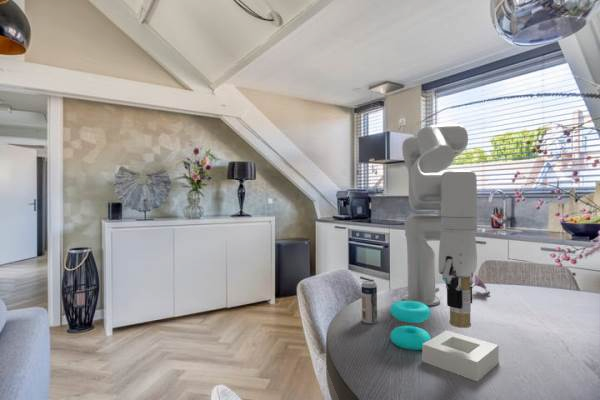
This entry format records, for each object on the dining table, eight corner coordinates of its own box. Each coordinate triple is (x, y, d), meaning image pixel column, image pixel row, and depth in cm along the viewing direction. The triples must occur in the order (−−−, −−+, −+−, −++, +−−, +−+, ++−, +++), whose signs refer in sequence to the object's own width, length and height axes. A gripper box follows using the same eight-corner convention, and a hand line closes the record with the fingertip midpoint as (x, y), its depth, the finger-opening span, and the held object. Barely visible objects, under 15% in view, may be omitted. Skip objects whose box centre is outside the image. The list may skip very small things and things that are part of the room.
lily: (482, 302, 126) (495, 280, 125) (453, 284, 134) (465, 263, 134) (490, 305, 135) (503, 284, 134) (462, 288, 143) (474, 268, 142)
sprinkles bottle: (446, 321, 80) (445, 264, 80) (465, 321, 80) (464, 264, 80) (454, 329, 76) (453, 268, 76) (475, 329, 76) (474, 268, 76)
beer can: (377, 325, 102) (377, 284, 102) (361, 324, 103) (360, 284, 103) (377, 319, 106) (376, 280, 106) (361, 318, 107) (361, 280, 107)
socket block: (446, 346, 87) (446, 330, 87) (498, 362, 78) (498, 345, 78) (422, 361, 79) (422, 344, 79) (477, 381, 70) (477, 362, 70)
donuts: (438, 305, 87) (414, 313, 82) (439, 345, 87) (415, 355, 82) (406, 297, 96) (382, 303, 90) (406, 332, 96) (382, 342, 90)
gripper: (458, 222, 86) (459, 294, 86) (424, 226, 75) (425, 309, 75) (490, 223, 81) (491, 300, 81) (459, 227, 70) (460, 317, 70)
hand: (459, 304), depth 78 cm, fingers closed on sprinkles bottle, 4 cm apart
